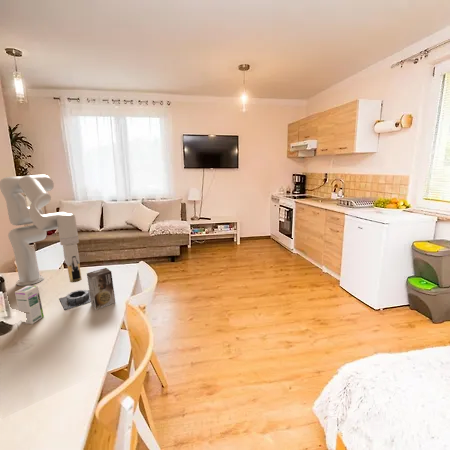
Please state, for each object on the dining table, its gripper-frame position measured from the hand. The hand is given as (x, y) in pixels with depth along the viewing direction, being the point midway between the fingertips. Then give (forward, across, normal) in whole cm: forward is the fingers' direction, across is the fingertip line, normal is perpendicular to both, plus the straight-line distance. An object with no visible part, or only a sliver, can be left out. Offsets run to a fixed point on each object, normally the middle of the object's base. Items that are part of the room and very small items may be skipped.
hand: (75, 276), depth 129 cm
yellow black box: (+2, 0, 0) cm, 2 cm away
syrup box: (+12, +6, -19) cm, 24 cm away
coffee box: (+13, +12, +8) cm, 19 cm away
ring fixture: (+12, 0, 0) cm, 12 cm away
